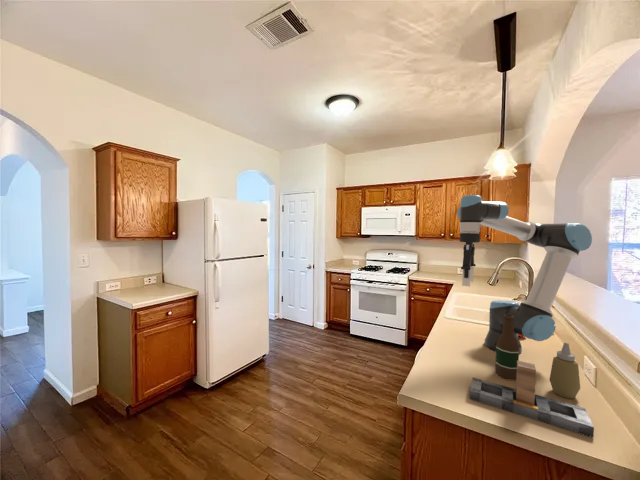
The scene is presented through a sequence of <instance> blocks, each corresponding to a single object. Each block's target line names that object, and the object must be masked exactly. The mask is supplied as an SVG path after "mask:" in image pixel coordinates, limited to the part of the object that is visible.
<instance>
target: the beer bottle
mask: <svg viewBox="0 0 640 480" xmlns="http://www.w3.org/2000/svg"><path fill="white" fill-rule="evenodd" d="M503 318H504V323H503V331H502V334H501V335H500V336H499V338H498V340H497V344H496V351H495V362H494V363H495V366H494V369H495V374H496V375H497V376H498V377H499V378H502V379H505V380H509V381H516V378H517V360H518V361H520V359H519V358H520V357H519V356H520V354H519V344H518V341H517V339H516V338H515V336H514V321H513V320H514V316H513V315H509V314H504V316H503Z"/></svg>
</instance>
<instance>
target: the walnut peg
mask: <svg viewBox="0 0 640 480" xmlns="http://www.w3.org/2000/svg"><path fill="white" fill-rule="evenodd" d="M536 373H537V369H536V365H535V364H534V363H530V362H527V361H523V360H522V361H521V360H519V361H518V360H517V378H516V380H515V381H516V382H515V389H516V400H517V401H520V402H524V403H527V404H530V405H534V402H535V394H536V377H537V376H536V375H537V374H536Z"/></svg>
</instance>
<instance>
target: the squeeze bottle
mask: <svg viewBox="0 0 640 480" xmlns="http://www.w3.org/2000/svg"><path fill="white" fill-rule="evenodd" d="M548 381H549V383H550V385H551V388H552V391H553V392H554V393H555V394H556V395H558V396H560V397H563V398H566V399H572V400H573V399H576V397H577V395H578V393H579V391H580V390H581V380H580V369H579V363H578V362H577V361H576V355H575V354H573V353H572V352H571V349H570V344H569V343H567V342H563V345H562V347H561V350H558V351H557V352H556V356H554V357H553V358H552V364H551V368H550V374H549V380H548Z"/></svg>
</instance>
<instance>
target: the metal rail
mask: <svg viewBox="0 0 640 480" xmlns="http://www.w3.org/2000/svg"><path fill="white" fill-rule="evenodd" d="M469 400H472V401H475V402H478V403H481V404H484V405H488V406H491V407H494V408H497V409H500V410H504V411H507V412H510V413H513V414H516V415H520V416H522V417H526V418H529V419H532V420H536V421H538V422H542V423H545V424H548V425H550V426H551V425H552V426H555V427H558V428H561V429H564V430H567V431H571V432H574V433H577V434H579V433H580V434H579V435H583V434H584V435H583V436H586V435H587V436H586V437H589V436H591V437H590V438H592V437H593V438H594V435H595V432H594V431H595V426H594V424H593V421H592V420H591V418H590V415H589V414H588V412H587V410H586V408H585V407H582V406H579V405H575V404H572V403H569V402H568V403H567V402H565V401H562V400H561V401H560V400H557V399H554V398H549V397H546V396H543V395H539V394H536V393H535V402H534V405H530V404H527V403H524V402H520V401H517V400H516V388H514V387H513V388H512V387H509V386H506V385H502V384H499V383H495V382H491V381H487V380H484V379H481V378H478V377H472V380H471V383H470V388H469Z"/></svg>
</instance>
